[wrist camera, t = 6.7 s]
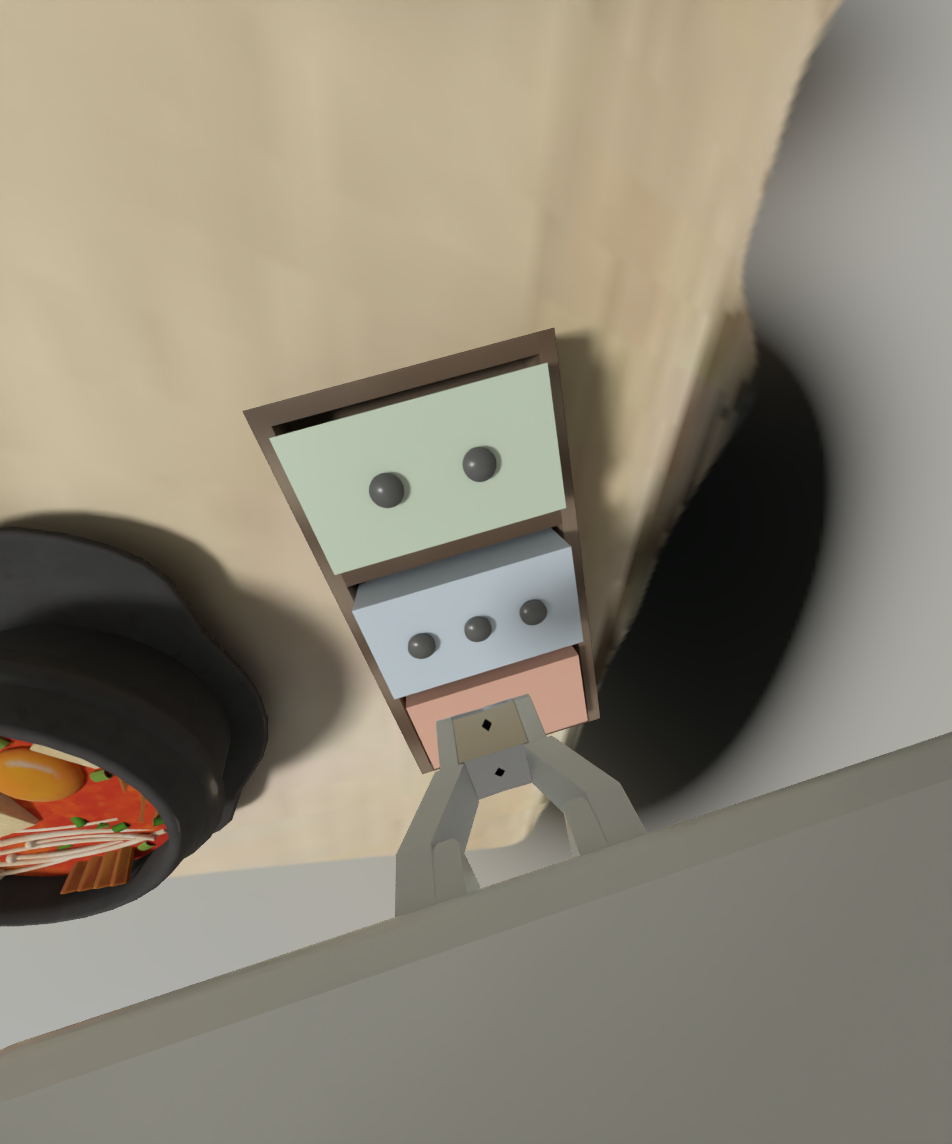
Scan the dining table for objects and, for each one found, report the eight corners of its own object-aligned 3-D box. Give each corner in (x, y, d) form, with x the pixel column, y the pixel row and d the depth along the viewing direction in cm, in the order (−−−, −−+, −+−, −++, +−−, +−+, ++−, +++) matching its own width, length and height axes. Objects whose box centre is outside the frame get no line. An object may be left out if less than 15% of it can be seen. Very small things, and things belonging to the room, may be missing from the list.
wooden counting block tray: (271, 408, 18) (242, 411, 15) (529, 339, 19) (554, 327, 15) (421, 733, 29) (422, 774, 26) (579, 684, 30) (599, 717, 26)
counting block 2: (360, 580, 20) (351, 614, 17) (548, 525, 21) (573, 548, 17) (396, 660, 23) (394, 703, 20) (561, 610, 23) (585, 644, 20)
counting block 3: (406, 671, 25) (405, 712, 22) (558, 625, 25) (580, 658, 22) (431, 729, 28) (434, 773, 24) (568, 686, 28) (589, 724, 25)
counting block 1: (293, 431, 17) (266, 439, 13) (523, 368, 17) (550, 362, 14) (345, 548, 19) (333, 578, 16) (542, 491, 20) (568, 509, 17)
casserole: (293, 810, 31) (256, 944, 23) (22, 834, 27) (-127, 1002, 19) (252, 526, 20) (160, 600, 13) (-197, 501, 17) (-691, 587, 9)
